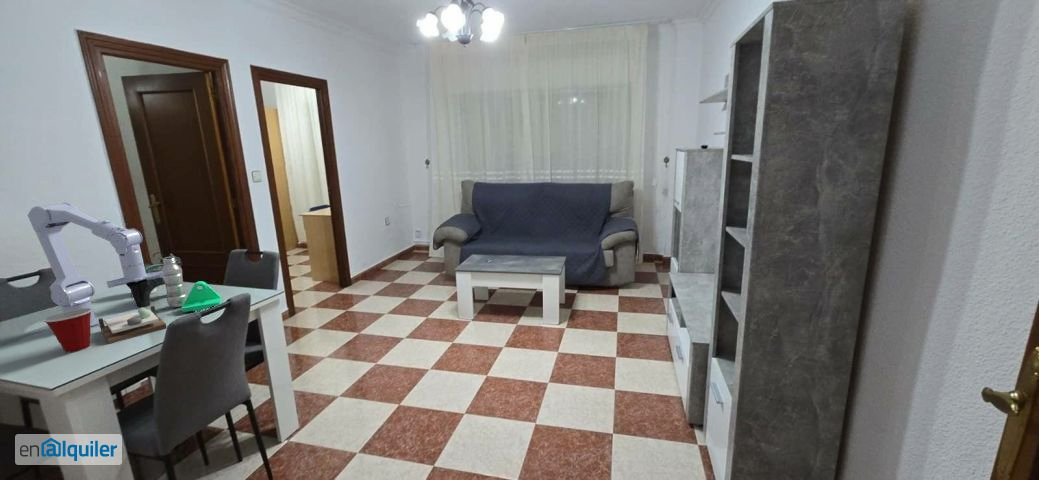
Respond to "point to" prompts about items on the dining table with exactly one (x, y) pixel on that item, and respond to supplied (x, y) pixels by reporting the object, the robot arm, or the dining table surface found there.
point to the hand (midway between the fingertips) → (141, 301)
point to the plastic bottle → (173, 283)
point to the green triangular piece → (201, 298)
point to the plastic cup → (71, 328)
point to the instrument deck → (123, 321)
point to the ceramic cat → (153, 282)
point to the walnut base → (131, 330)
